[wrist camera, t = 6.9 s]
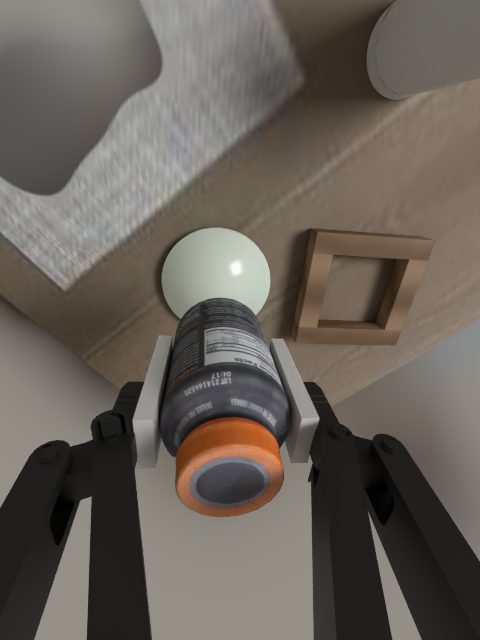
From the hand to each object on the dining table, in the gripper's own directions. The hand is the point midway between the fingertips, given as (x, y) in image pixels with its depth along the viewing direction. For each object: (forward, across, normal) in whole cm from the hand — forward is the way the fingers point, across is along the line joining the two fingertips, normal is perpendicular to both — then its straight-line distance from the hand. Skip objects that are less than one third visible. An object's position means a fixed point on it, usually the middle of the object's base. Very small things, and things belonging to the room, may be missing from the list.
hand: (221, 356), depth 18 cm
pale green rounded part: (+14, 0, 0) cm, 14 cm away
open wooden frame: (+14, +15, 0) cm, 20 cm away
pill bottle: (+3, 0, 0) cm, 3 cm away
